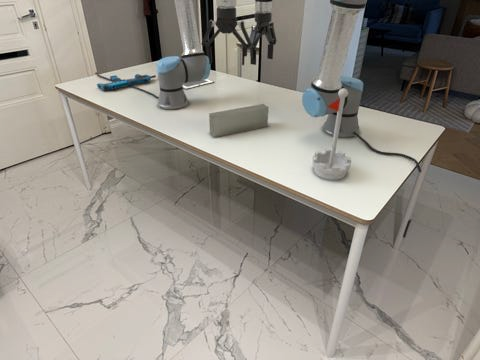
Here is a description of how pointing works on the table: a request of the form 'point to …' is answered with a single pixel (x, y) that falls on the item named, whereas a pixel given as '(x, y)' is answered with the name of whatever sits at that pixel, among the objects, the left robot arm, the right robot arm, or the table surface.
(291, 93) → the table surface
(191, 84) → the tablet
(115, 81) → the submachine gun
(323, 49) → the right robot arm
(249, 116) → the bar
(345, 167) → the flag stand
